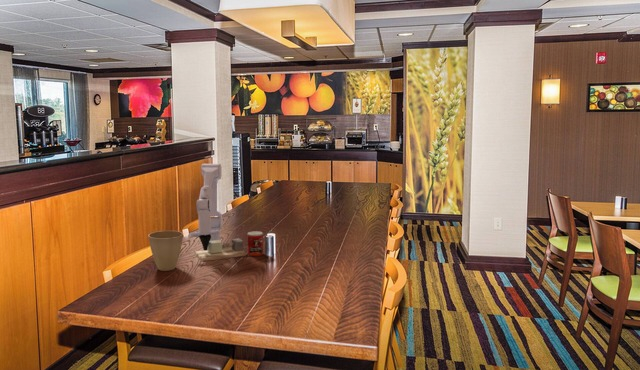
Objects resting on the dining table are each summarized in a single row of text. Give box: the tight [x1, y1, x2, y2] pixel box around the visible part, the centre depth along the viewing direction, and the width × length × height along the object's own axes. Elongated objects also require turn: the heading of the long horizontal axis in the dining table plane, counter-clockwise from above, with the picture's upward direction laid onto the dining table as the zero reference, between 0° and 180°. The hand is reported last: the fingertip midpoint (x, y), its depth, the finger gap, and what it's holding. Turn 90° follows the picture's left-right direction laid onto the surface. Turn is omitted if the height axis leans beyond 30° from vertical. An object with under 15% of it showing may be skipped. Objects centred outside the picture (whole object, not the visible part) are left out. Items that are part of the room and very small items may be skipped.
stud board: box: [194, 238, 247, 262], centre depth 247 cm, size 14×22×6 cm, turn 118°
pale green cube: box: [207, 239, 223, 254], centre depth 246 cm, size 5×6×5 cm
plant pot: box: [147, 230, 184, 272], centre depth 224 cm, size 15×15×16 cm
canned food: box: [246, 230, 264, 257], centre depth 248 cm, size 8×8×11 cm
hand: (205, 249), depth 244 cm, fingers closed
